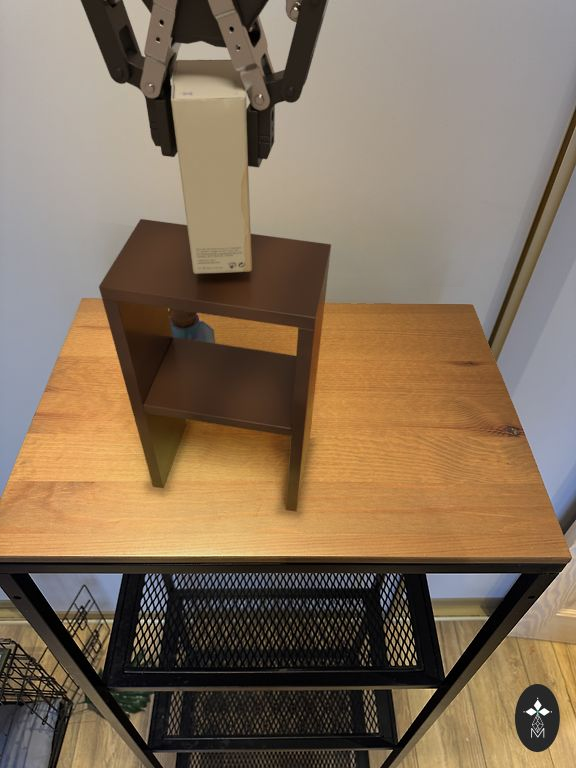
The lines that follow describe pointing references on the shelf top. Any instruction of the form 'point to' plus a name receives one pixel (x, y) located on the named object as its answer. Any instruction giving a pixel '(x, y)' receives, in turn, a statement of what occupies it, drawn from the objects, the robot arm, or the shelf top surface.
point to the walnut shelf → (210, 360)
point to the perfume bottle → (190, 326)
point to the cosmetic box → (213, 163)
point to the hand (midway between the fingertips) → (214, 155)
